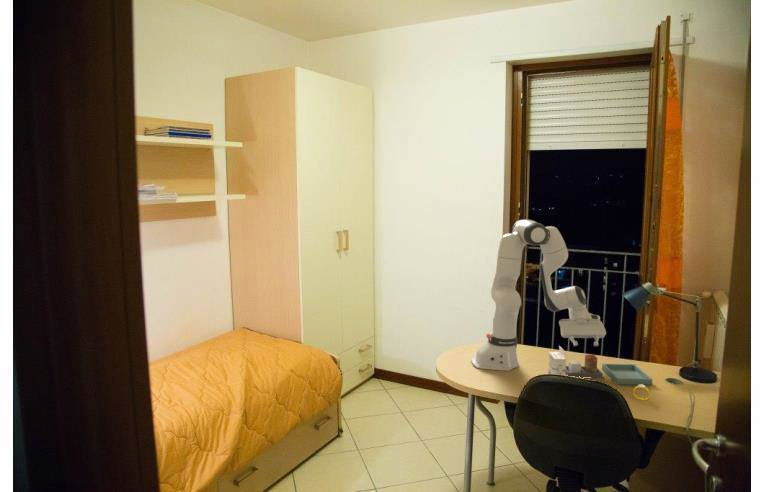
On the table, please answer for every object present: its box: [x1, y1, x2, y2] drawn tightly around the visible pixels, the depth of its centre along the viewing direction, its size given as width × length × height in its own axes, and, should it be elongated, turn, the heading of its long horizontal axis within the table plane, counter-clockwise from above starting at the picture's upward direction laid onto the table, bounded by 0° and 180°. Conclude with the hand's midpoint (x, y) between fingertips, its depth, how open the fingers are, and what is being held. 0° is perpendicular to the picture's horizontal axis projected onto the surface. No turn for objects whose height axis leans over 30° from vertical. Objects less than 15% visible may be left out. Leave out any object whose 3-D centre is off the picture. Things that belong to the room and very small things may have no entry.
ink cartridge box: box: [547, 345, 567, 376], centre depth 211 cm, size 9×5×15 cm, turn 179°
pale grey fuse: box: [568, 360, 582, 372], centre depth 217 cm, size 4×4×6 cm
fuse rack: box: [565, 365, 604, 379], centre depth 217 cm, size 15×8×2 cm, turn 86°
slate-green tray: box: [601, 363, 653, 387], centre depth 213 cm, size 15×17×3 cm
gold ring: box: [632, 384, 651, 401], centre depth 193 cm, size 6×3×6 cm, turn 57°
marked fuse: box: [584, 354, 598, 373], centre depth 216 cm, size 4×4×9 cm
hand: (586, 345), depth 222 cm, fingers open, 8 cm apart
